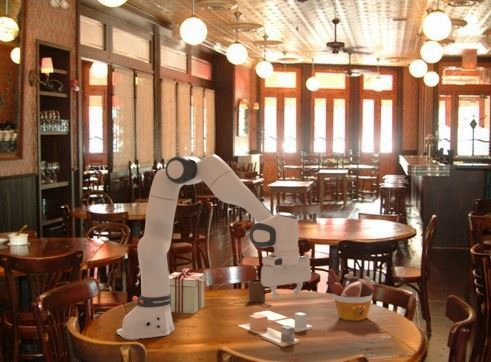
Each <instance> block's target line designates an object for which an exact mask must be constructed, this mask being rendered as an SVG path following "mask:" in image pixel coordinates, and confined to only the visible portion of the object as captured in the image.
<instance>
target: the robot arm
mask: <svg viewBox="0 0 491 362" xmlns="http://www.w3.org/2000/svg"><path fill="white" fill-rule="evenodd" d="M202 183H204V184H205V185H206V186H207V187H208V189H209V190H210V191H211V192H212V193H213V195H214V196H215V197H216V198H217V199H218V200H220V201H221V202H223V203H226V204H229V205H234V206H237V207H240V208H243V209H244V210H246V212H247V213H248V214H249V215H251V217H252V218H253V219H254V220H255V221H256V223H254V224H252V226H251V227H250V229H249V231H248V232H249V233H248V237H249V240H250V242H251V244H252V245H253V246H254V247H257V248H261V249H265V248H270V247H272V248H273V249H274V251H273V252H272V253H270V254H269V255H266V256H265V257H263V258H262V260H261V263H262V264H263V265H262V267H261V270H260V280H261V283H262V285H263V286H266V287H267V288H269V289H271V291H272V292H271V293H272V297H273V298H274V299H278V298H280V296H279V295H280V292H278V291H277V290H276V289H277V286H283V285H291V284H296V285H297V286H296V287H295V288H294V290H293V292H294V293H293V294H294V295H297V296H298V295H299V296H300V295H301V289H302V288H303V287H304V286H303V285H304V283H305V282H310V281H311V279H312V270H311V269H312V268H311V260H310V258H309V256H307V255H302V256H301V255H300V247H299V238H300V230H299V222H298V218H297V216H296V215H294V214H293V213H290V212H282V211H280V212H277V213H275V214H274V213H273V212H272V211H271V210H270V209H268V207H267V206H266V205H265V204H264V203H263V202H262V201H261V200H260V198H258V197H257V195H256V194H254V193H253V192H252V191H251V190H250V189H249V187H248V186H246V185H245V183H244V182H243V181H242V180H241V178H239V176H238V175H237V174H236V173H235V172H234V169H232V167H230V166H229V164H228V163H227V162H225V161H224V160H223V159H222V157H220V156H218V155H216V154H209V155H206V156H204V158H201V157H199V156H193V155H177V156H174V157H171V158H170V159H169V160H168V161H167V163H166V165H165V168H162V169H159V170H158V171H156V173H155V175H154V178H153V180H152V184H151V187H150V191H149V196H148V200H147V206H146V213H145V224H144V225H145V226H144V232H143V233H144V234H143V236H142V237H141V238H140V239H139V241H138V242H137V247H136V248H137V249H136V250H137V257H138V265H139V266H138V267H139V272H140V287H141V288H140V291H141V292H140V293H141V294H140V295H139V296H136V295H134V296H133V297H132V301H133V302H135V303H136V305H135V306H134V308H133V309H132V310H131V311H129V312H128V313H127V314H126V315H125V316H124V317H123V320H122V328H118V329H117V330H116V335H117V334H118V335H120V336H121V337H120V336H119V337H120V338H122V337H123V338H122V339H125V340H130V341H131V340H139V339H140V338H141V339H147V338H148V339H149V338H157V337H163V336H169V335H170V334H171V333H172V332H174V331H175V329H176V328H175V325H174V322H173V317H172V312H171V308H170V307H171V294H170V285H169V275H170V271H169V266H168V264H169V263H168V252H169V250H170V248H171V243H172V237H173V230H174V221H175V220H174V219H175V214H176V210H177V204H178V200H179V194H180V190H181V188H182V187H183V186H184V185H185V186H192V185H199V184H202ZM266 287H265V288H266ZM118 335H117V336H118Z"/></svg>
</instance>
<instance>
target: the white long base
mask: <svg viewBox="0 0 491 362" xmlns="http://www.w3.org/2000/svg"><path fill="white" fill-rule="evenodd" d="M237 326H238V327H241V328H243V329H244V330H247V331H250V332H252V333H255V334H257V335H258V336H257V337H258V338H261V339H263V340H266V341H267V342H270V343H273V344H275V345H276V346H277V345H278V346H280V347H286V346H291V345H296V344H300V343H301V339H298V338H297V337H295V332H294V327H292V326H289V325H281V326H280V331H278V330H275V329H273V328H271V327H268V329H266V330H261V331H255V330H252V329H250V322H248V323H243V324H238V325H237Z"/></svg>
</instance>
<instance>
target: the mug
mask: <svg viewBox="0 0 491 362" xmlns="http://www.w3.org/2000/svg"><path fill="white" fill-rule="evenodd" d="M271 293H273V292H272V291H271V289H270V288H269V289H266V286H263V285H262V283H261V279H258V278H257V279H249V280H248V301H249V302H250V303H253V304H254V303H255V304H257V303H258V304H259V303H260V304H261V303H264V302H265V301H266V295H267V294H271Z"/></svg>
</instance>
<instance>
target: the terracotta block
mask: <svg viewBox="0 0 491 362" xmlns="http://www.w3.org/2000/svg"><path fill="white" fill-rule="evenodd" d="M268 320H269V319H268V317H267V316H265V315H262V314H256V315H255V314H251V315H249V323H250V329H252V330H255V331H261V330H266V329H268V328H269V327H268V325H269V324H268V322H269V321H268Z"/></svg>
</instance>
